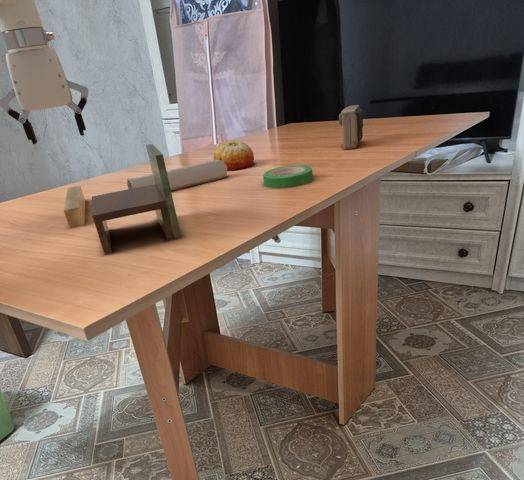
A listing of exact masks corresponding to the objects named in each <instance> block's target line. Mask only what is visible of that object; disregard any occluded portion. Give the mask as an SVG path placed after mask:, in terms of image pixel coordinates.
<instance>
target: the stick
mask: <svg viewBox="0 0 524 480" xmlns="http://www.w3.org/2000/svg"><path fill="white" fill-rule="evenodd" d="M63 214H64V217H65V220H66V222H67V224H68V227H69V229H74V228H78V227H83V226H86V225H85V222H86V219H85V218H86V198H85V195H84V193H83V189H82V185H76V186H70V187H67V190H66V196H65V201H64V207H63Z"/></svg>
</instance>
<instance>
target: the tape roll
mask: <svg viewBox="0 0 524 480" xmlns="http://www.w3.org/2000/svg"><path fill="white" fill-rule="evenodd" d="M262 176H263V177H262V178H263V186H264V187H266V188H270V189H288V188H295V187H300V186H303V185H304V186H305V185H307V184H309V183H311V182H312V181H313V180H314V179H313V178H314V177H313V168H312V166H309V165H304V164H296V165H295V164H293V165H285V166H279V167H275V168H271V169H268V170H267V171H264V173H262Z"/></svg>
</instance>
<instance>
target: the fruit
mask: <svg viewBox="0 0 524 480" xmlns="http://www.w3.org/2000/svg"><path fill="white" fill-rule="evenodd" d="M213 160H221V161H223V162H224V163H225V164H226V166H227V172H233V171H234V172H235V171H237V170H244V169H247V168H250V167H252V166H253V165H254V162H255V156H254V152H253V150H252V148H251V147H250V145H248V144H246V143H244V142H241V141H240V142H236V141H227V142H223V143H222V144H221V145H218V147H217V148H216V150H215V152H214V153H213Z"/></svg>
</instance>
